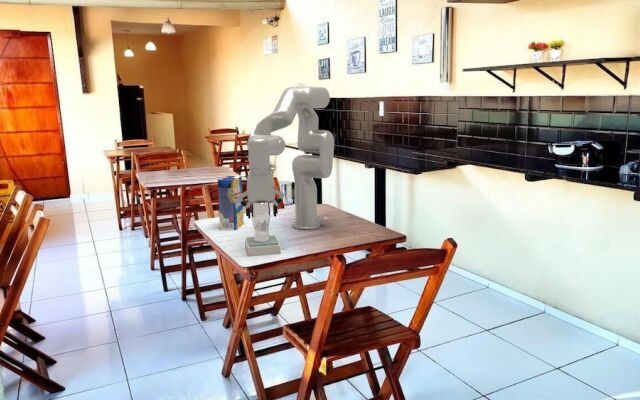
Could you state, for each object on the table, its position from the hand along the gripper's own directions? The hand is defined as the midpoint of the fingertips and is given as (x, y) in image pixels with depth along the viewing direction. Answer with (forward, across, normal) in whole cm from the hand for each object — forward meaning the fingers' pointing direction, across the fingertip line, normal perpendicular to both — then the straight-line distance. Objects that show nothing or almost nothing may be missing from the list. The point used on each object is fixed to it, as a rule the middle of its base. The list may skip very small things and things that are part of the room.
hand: (262, 216), depth 197 cm
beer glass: (+9, +1, +1) cm, 9 cm away
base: (+13, +1, +1) cm, 13 cm away
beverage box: (+14, +10, -37) cm, 41 cm away
